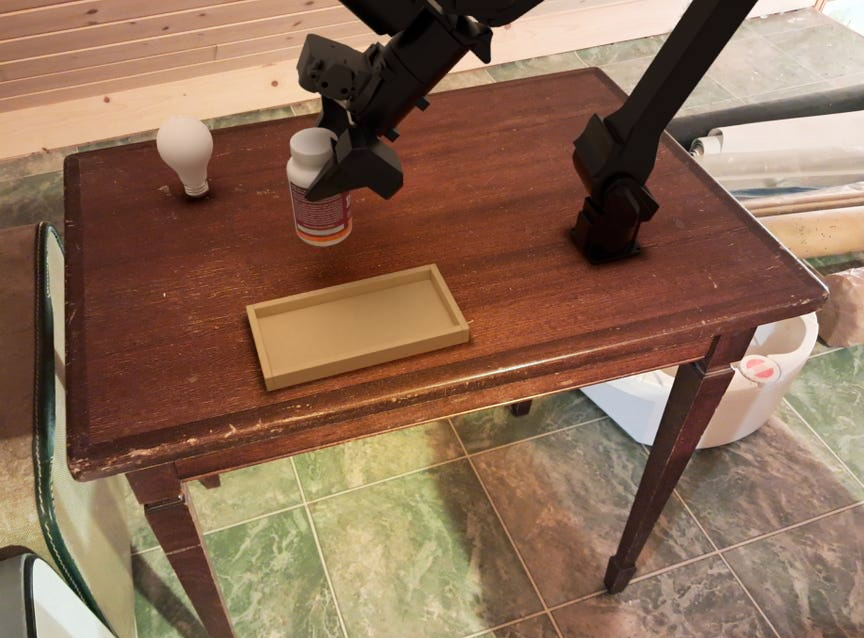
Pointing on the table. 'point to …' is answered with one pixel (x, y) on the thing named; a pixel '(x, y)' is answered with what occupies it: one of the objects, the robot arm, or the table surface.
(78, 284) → the table surface
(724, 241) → the table surface
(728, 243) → the table surface
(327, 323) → the tray
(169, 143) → the light bulb
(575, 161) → the robot arm
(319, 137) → the pill bottle
